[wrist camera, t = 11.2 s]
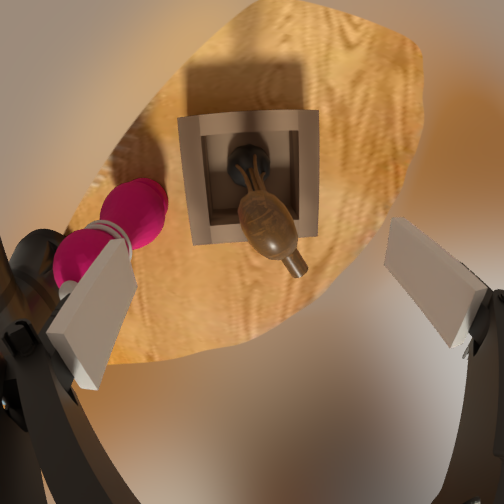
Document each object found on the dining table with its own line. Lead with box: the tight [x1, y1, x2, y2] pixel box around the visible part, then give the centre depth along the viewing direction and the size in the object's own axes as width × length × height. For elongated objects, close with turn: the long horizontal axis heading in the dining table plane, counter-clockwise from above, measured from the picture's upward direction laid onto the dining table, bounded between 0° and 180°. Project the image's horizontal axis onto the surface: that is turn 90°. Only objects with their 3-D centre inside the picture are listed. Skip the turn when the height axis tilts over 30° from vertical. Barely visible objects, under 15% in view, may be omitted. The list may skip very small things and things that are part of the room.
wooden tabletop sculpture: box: [227, 144, 308, 278], centre depth 22 cm, size 6×5×20 cm
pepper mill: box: [53, 178, 168, 300], centre depth 24 cm, size 7×7×20 cm
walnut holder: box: [177, 110, 319, 246], centre depth 29 cm, size 13×13×6 cm
